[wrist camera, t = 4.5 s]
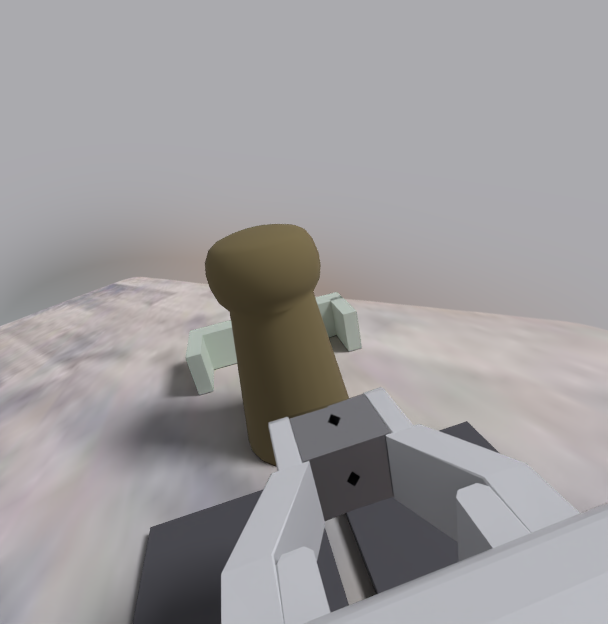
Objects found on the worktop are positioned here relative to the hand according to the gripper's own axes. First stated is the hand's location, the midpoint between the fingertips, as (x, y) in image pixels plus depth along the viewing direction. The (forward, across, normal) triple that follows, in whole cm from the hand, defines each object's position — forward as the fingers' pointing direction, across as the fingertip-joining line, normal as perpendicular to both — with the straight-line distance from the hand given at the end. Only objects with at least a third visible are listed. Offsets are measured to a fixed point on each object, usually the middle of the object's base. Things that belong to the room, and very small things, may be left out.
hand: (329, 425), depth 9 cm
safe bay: (+17, 0, +7) cm, 19 cm away
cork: (+9, 0, +7) cm, 12 cm away
